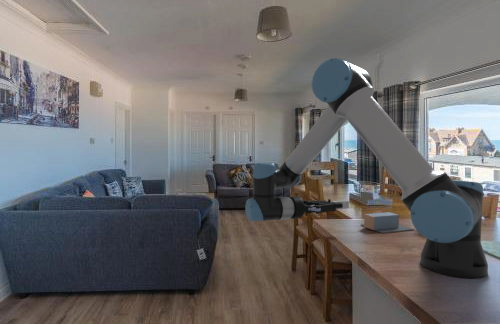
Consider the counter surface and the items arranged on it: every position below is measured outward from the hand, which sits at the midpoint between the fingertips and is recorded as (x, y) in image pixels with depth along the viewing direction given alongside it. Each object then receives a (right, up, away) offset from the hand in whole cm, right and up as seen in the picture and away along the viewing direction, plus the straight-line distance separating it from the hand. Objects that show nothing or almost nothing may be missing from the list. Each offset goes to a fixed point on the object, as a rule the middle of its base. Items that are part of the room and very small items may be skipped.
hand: (347, 204), depth 121 cm
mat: (+17, -10, +7) cm, 21 cm away
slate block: (+9, -7, +4) cm, 12 cm away
